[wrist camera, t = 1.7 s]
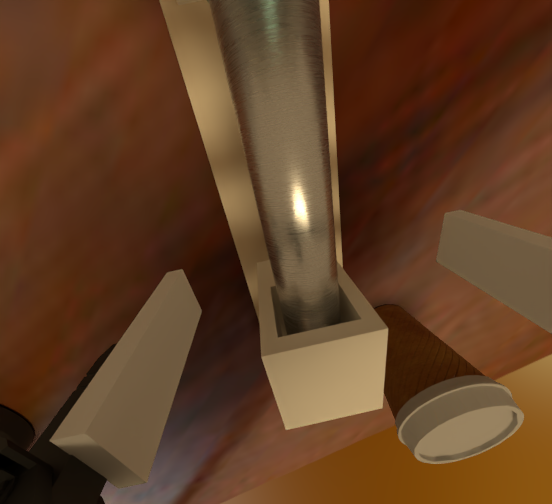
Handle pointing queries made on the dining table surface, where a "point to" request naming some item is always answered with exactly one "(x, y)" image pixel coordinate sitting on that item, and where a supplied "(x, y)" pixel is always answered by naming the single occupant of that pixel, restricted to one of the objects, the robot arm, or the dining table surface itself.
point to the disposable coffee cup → (441, 395)
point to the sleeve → (323, 357)
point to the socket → (186, 1)
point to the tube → (285, 146)
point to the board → (235, 127)
